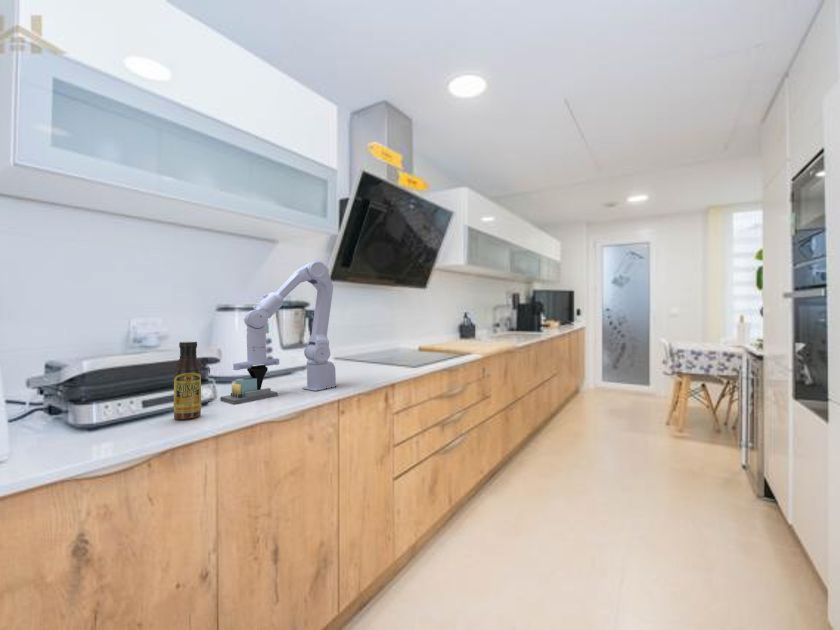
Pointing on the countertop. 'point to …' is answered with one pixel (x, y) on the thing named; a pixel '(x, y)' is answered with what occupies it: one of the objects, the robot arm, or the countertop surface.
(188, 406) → the sauce bottle
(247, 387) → the plug block
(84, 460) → the countertop surface
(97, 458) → the countertop surface
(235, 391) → the header board
